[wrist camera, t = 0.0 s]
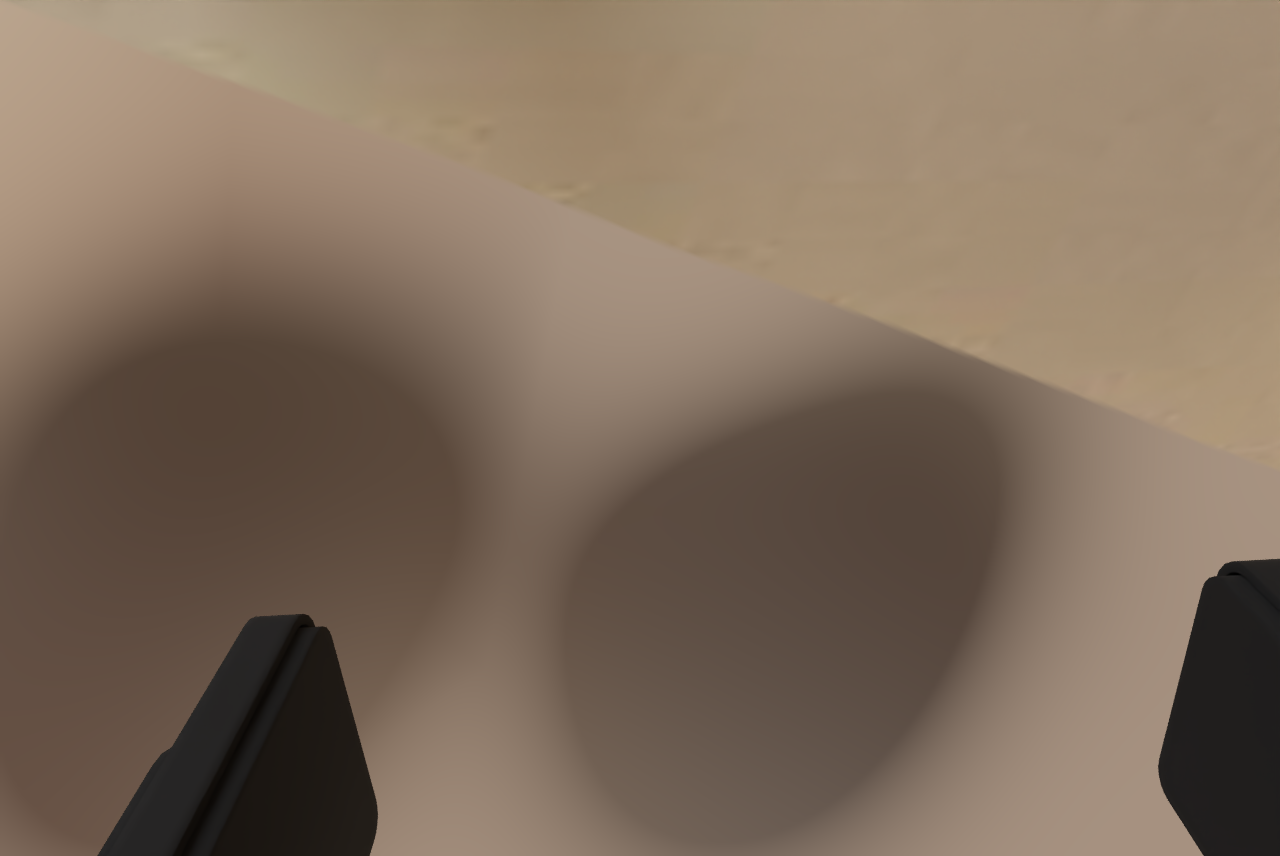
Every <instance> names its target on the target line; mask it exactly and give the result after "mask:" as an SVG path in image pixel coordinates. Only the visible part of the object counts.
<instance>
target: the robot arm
mask: <svg viewBox="0 0 1280 856" xmlns="http://www.w3.org/2000/svg"><path fill="white" fill-rule="evenodd" d="M1158 769H1159V778H1160V782H1161V786H1162V788H1163V791H1164V793H1165V795H1166V797H1167V799H1168V801H1169V802H1170V804H1171V805H1172V807H1173V809H1174V810H1175V812H1176V813H1177V815H1178V816H1179V818H1180V820H1181V821H1182V823H1183V824H1184V826H1185V827H1186V829H1187V830H1188V832H1189V834H1190V835H1191V837H1192V838H1193V840H1194V841H1195V843H1196V845H1197V846H1198V848H1199V849H1200V851H1201V852H1202V854H1203V855H1204V856H1280V559H1269V560H1251V561H1234V562H1229V563H1226V564H1224V566H1222V568H1221V569H1220V570H1219V572H1218V574H1217V576H1214V577H1211V578H1209V579H1208V580H1207V581H1206V582H1205V583H1204V586H1203V588H1202V592H1201V596H1200V600H1199V604H1198V608H1197V612H1196V616H1195V619H1194V623H1193V627H1192V632H1191V635H1190V639H1189V644H1188V647H1187V651H1186V656H1185V659H1184V663H1183V667H1182V671H1181V675H1180V679H1179V683H1178V687H1177V691H1176V695H1175V699H1174V703H1173V707H1172V710H1171V715H1170V718H1169V722H1168V726H1167V731H1166V734H1165V738H1164V742H1163V746H1162V751H1161V754H1160V758H1159V765H1158ZM377 819H378V811H377V802H376V798H375V794H374V790H373V787H372V783H371V779H370V775H369V772H368V768H367V764H366V761H365V757H364V753H363V750H362V747H361V743H360V739H359V735H358V731H357V728H356V724H355V720H354V717H353V713H352V709H351V706H350V703H349V698H348V695H347V691H346V687H345V684H344V681H343V677H342V673H341V669H340V665H339V662H338V658H337V654H336V651H335V647H334V643H333V640H332V636H331V634H330V631H329V630H328V629H327V628H326V627H315V625H314V622H313V620H312V619H311V618H310V617H309V616H308V615H305V614H296V615H278V616H260V617H254V618H251V619H250V620H249V621H248V622H247V623H246V624H245V626H244V627H243V629H242V631H241V632H240V634H239V636H238V637H237V639H236V641H235V642H234V644H233V646H232V647H231V649H230V651H229V653H228V654H227V656H226V658H225V659H224V661H223V662H222V664H221V666H220V668H219V669H218V671H217V672H216V674H215V676H214V678H213V679H212V681H211V683H210V685H209V686H208V688H207V690H206V691H205V693H204V694H203V696H202V698H201V699H200V701H199V703H198V704H197V706H196V708H195V710H194V711H193V713H192V714H191V716H190V718H189V719H188V721H187V723H186V725H185V726H184V728H183V730H182V731H181V733H180V734H179V736H178V738H177V739H176V741H175V743H174V745H173V746H172V747H171V748H170V749H168V750H167V751H165V752H164V753H162V754H161V755H160V757H159V758H158V759H157V760H156V762H155V763H154V764H153V766H152V767H151V769H150V770H149V772H148V774H147V775H146V777H145V778H144V780H143V782H142V783H141V785H140V787H139V789H138V790H137V792H136V793H135V795H134V797H133V798H132V800H131V801H130V803H129V805H128V806H127V808H126V810H125V811H124V813H123V815H122V816H121V818H120V820H119V821H118V823H117V824H116V826H115V828H114V830H113V831H112V833H111V835H110V836H109V838H108V839H107V841H106V843H105V844H104V846H103V848H102V849H101V851H100V852H99V854H98V856H370V853H371V849H372V846H373V843H374V839H375V835H376V830H377Z"/></svg>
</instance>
